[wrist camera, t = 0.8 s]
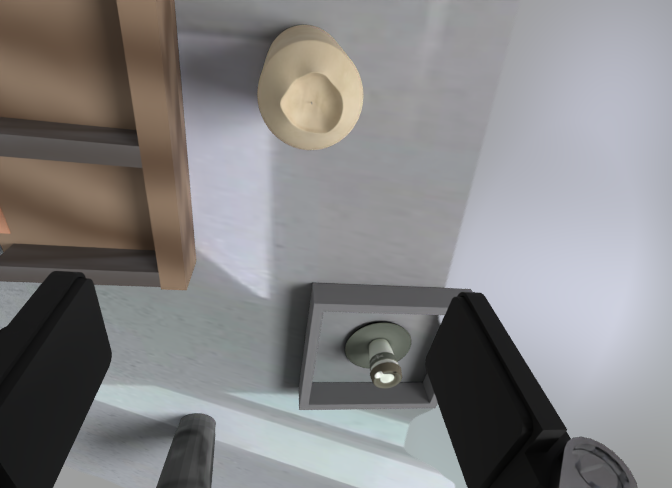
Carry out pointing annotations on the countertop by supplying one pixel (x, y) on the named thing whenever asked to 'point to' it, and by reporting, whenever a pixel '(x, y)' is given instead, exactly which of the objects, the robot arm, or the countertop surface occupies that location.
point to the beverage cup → (190, 454)
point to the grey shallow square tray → (367, 302)
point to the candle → (309, 89)
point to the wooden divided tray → (93, 143)
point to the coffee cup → (379, 351)
